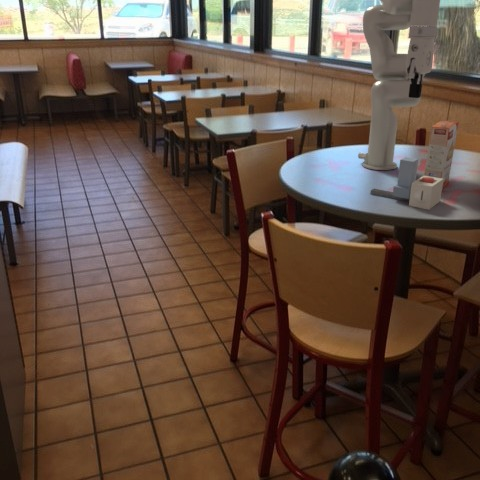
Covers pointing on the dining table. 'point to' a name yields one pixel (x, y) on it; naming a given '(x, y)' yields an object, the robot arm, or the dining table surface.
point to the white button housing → (425, 193)
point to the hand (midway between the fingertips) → (414, 97)
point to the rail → (386, 194)
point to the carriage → (405, 177)
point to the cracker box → (441, 150)
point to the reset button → (428, 180)
